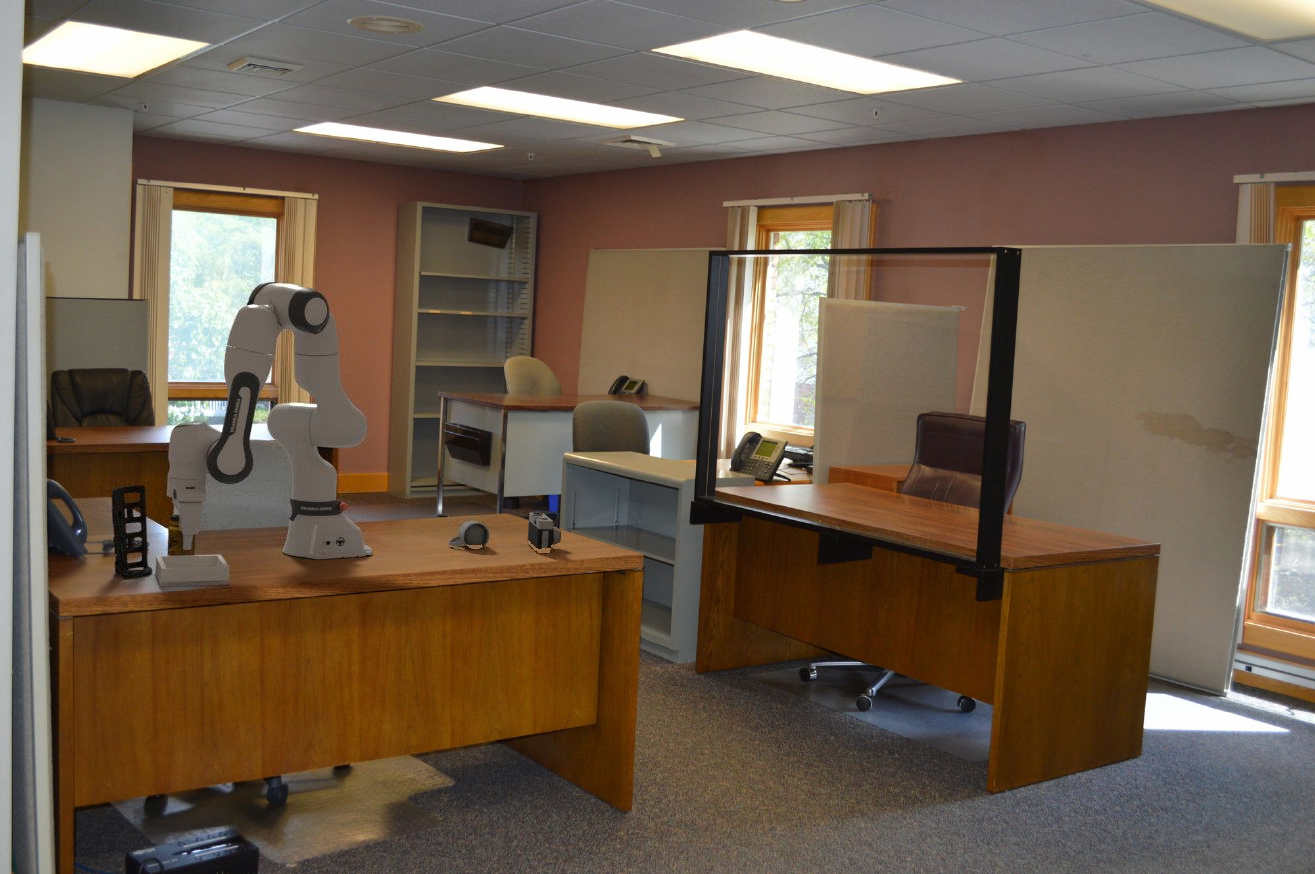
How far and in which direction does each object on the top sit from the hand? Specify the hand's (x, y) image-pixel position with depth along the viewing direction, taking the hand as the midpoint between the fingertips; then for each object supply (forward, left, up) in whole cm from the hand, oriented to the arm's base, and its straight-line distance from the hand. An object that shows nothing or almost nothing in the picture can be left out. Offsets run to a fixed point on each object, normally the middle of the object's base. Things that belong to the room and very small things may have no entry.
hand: (184, 546), depth 270 cm
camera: (-97, -8, -5) cm, 98 cm away
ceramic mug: (-76, -13, -5) cm, 77 cm away
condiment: (0, 0, -5) cm, 5 cm away
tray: (0, +15, -4) cm, 16 cm away
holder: (+12, +8, -5) cm, 15 cm away
